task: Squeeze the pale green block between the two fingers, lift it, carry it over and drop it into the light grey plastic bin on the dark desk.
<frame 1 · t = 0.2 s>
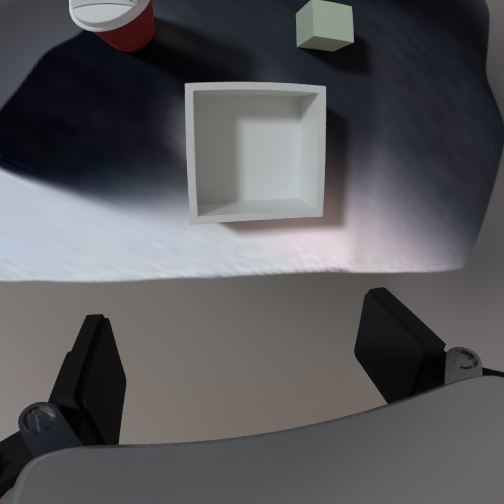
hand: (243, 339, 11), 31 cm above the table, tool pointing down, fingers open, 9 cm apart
green block: (314, 32, 34), on the table
bin: (247, 147, 39), on the table
paper cup: (131, 32, 30), on the table
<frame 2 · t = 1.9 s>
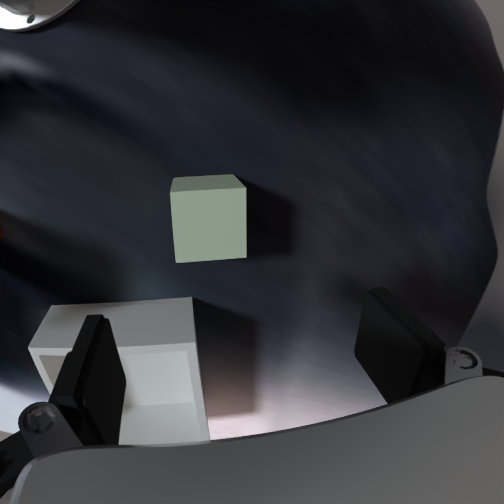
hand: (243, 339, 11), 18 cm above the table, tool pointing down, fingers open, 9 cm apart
green block: (204, 204, 27), on the table
bin: (131, 360, 32), on the table
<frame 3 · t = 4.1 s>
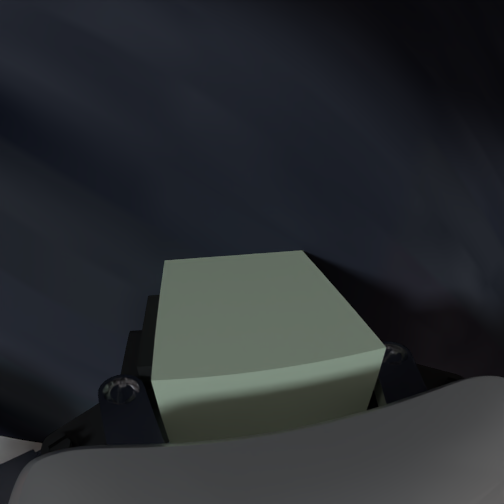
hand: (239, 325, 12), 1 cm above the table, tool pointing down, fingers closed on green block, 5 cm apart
green block: (236, 314, 13), on the table, touching gripper
bin: (123, 499, 17), on the table
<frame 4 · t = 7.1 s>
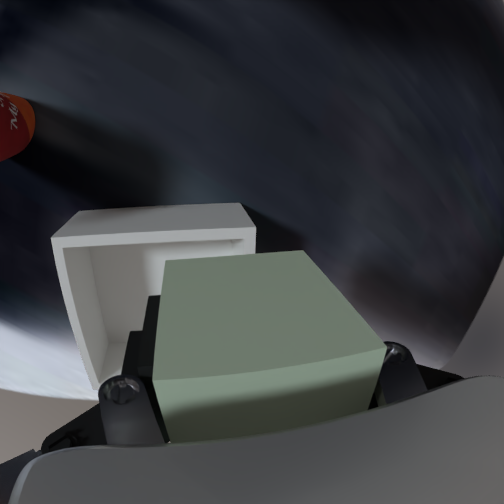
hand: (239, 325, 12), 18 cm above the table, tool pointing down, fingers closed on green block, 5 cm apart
green block: (237, 314, 13), point 17 cm above the table, touching gripper
bin: (162, 281, 30), on the table
paper cup: (12, 125, 22), on the table
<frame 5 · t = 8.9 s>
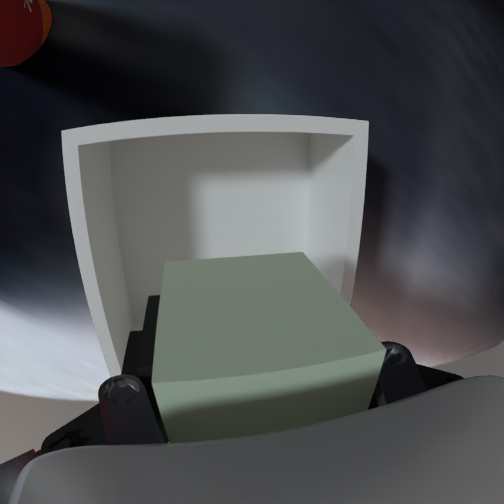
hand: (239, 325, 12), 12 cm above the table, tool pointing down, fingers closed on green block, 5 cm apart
green block: (236, 316, 13), point 11 cm above the table, touching gripper
bin: (212, 225, 22), on the table
paper cup: (20, 31, 14), on the table
when the fingers open (4 cm above the table, at t = 10.5 s): green block drops 3 cm, resting on bin.
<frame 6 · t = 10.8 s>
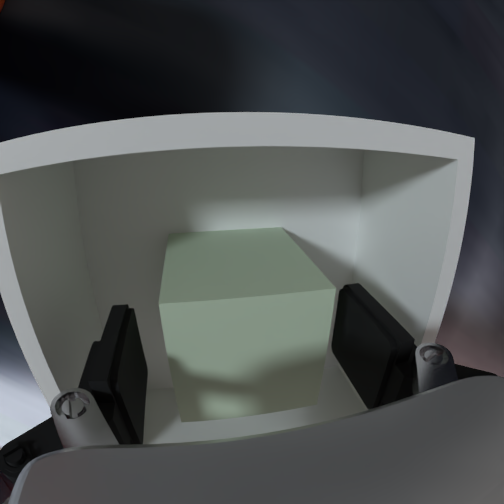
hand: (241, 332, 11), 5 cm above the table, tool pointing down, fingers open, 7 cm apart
green block: (227, 281, 15), point 1 cm above the table, touching bin
bin: (225, 275, 16), on the table
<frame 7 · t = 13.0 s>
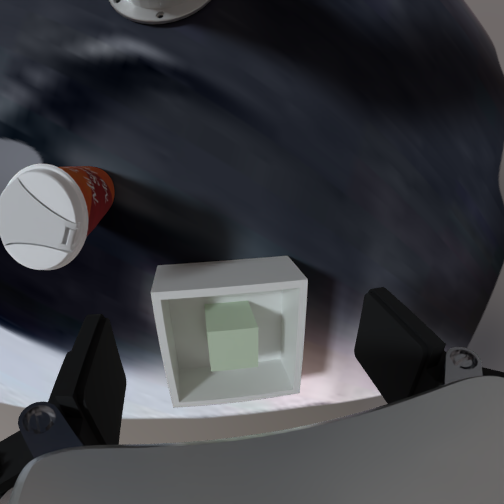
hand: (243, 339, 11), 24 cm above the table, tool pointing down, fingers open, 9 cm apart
green block: (227, 321, 37), point 1 cm above the table, touching bin
bin: (226, 318, 38), on the table
paper cup: (90, 192, 31), on the table
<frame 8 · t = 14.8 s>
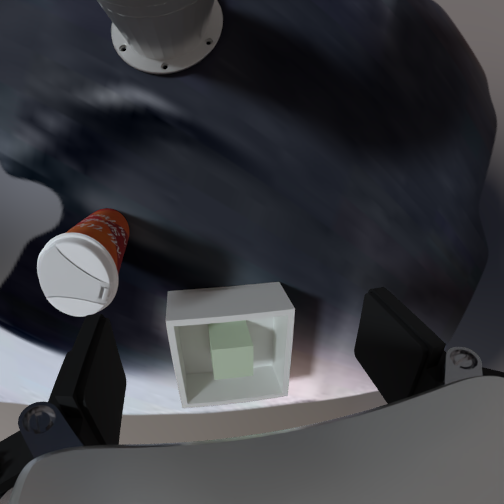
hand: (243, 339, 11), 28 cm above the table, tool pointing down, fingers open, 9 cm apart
green block: (227, 335, 44), point 1 cm above the table, touching bin
bin: (226, 332, 45), on the table
paper cup: (107, 229, 37), on the table
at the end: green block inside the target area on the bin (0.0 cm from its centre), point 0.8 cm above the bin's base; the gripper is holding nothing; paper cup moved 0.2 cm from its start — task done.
